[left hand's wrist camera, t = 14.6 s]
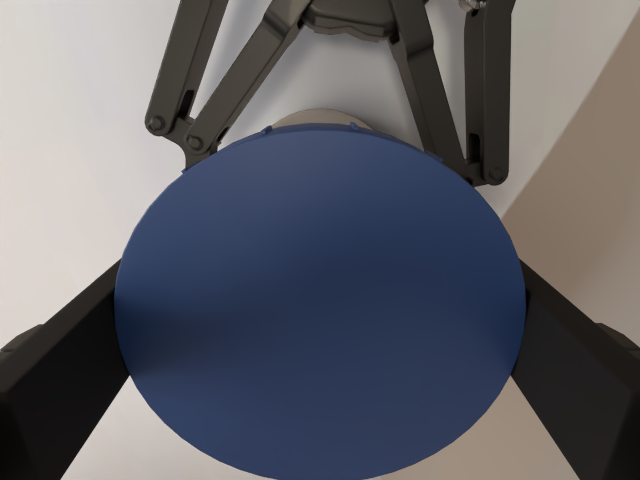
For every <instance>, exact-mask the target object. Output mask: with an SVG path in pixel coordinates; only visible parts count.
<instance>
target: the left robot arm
mask: <svg viewBox="0 0 640 480" xmlns="http://www.w3.org/2000/svg"><path fill="white" fill-rule="evenodd" d="M121 259H122V258H121ZM121 259H120V260H119V261H117V262H116V263H115V264H114V265H113V266H112V267H110V268H109V269H108V270H107V271H106V272H105V273H103V274H102V275H101V276H100V277H99V278H97V279H96V280H95V281H94V282H93V283H92V284H90V285H89V286H88V287H87V288H86V289H85V290H83V291H82V292H81V293H80V294H79V295H78V296H76V297H75V298H74V299H73V300H72V301H71V302H69V303H68V304H67V305H66V306H65V307H63V308H62V309H61V310H60V311H59V312H58V313H56V314H55V315H54V316H53V317H52V318H51V319H49V320H48V321H47V322H46V323H45V324H39V325H37V326H35V327H33V328H31V329H29V330H27V331H26V332H24V333H22V334H20V335H18V336H16V337H15V338H14V339H13V340H11V341H10V342H9V343H8V344H7V345H5V346H4V347H3V348H2V349H0V480H60V479H61V478H62V476H63V475H64V473H65V472H66V470H67V469H68V467H69V466H70V464H71V463H72V461H73V460H74V458H75V457H76V455H77V454H78V452H79V451H80V449H81V448H82V446H83V445H84V443H85V442H86V440H87V439H88V437H89V436H90V434H91V433H92V431H93V430H94V428H95V427H96V425H97V424H98V422H99V421H100V419H101V418H102V416H103V415H104V413H105V412H106V410H107V409H108V407H109V406H110V404H111V403H112V401H113V400H114V398H115V397H116V395H117V394H118V392H119V391H120V389H121V388H122V386H123V385H124V383H125V382H126V380H127V379H128V377H129V376H130V374H129V372H128V370H127V368H126V365H125V362H124V359H123V357H122V354H121V351H120V347H119V343H118V338H117V333H116V328H115V319H114V295H115V286H116V278H117V273H118V270H119V266H120V263H121ZM519 261H520V265H521V269H522V274H523V278H524V283H525V294H526V319H525V329H524V334H523V338H522V343H521V347H520V351H519V355H518V357H517V360H516V362H515V365H514V367H513V370H512V372H511V377H512V378H513V380H514V381H515V383H516V384H517V386H518V387H519V389H520V390H521V392H522V393H523V395H524V396H525V398H526V399H527V401H528V402H529V404H530V405H531V407H532V408H533V410H534V411H535V413H536V414H537V416H538V417H539V419H540V420H541V422H542V423H543V425H544V426H545V428H546V429H547V431H548V432H549V434H550V435H551V437H552V438H553V440H554V441H555V443H556V444H557V446H558V447H559V449H560V450H561V452H562V453H563V455H564V456H565V458H566V459H567V461H568V462H569V464H570V465H571V467H572V468H573V470H574V471H575V473H576V474H577V476H578V478H579V479H580V480H640V347H638V346H637V345H636V344H635V343H633V342H632V341H631V340H630V339H629V338H627V337H626V336H625V335H623V334H621V333H620V332H618V331H616V330H614V329H612V328H610V327H608V326H606V325H604V324H602V323H594V322H593V321H592V320H591V319H590V318H588V317H587V316H586V315H585V314H584V313H583V312H581V311H580V310H579V309H578V308H577V307H576V306H574V305H573V304H572V303H571V302H570V301H569V300H567V299H566V298H565V297H564V296H563V295H561V294H560V293H559V292H558V291H557V290H556V289H554V288H553V287H552V286H551V285H550V284H549V283H547V282H546V281H545V280H544V279H543V278H542V277H540V276H539V275H538V274H537V273H536V272H535V271H533V270H532V269H531V268H530V267H529V266H527V265H526V264H525V263H524V262H523V261H522V260H520V259H519Z"/></svg>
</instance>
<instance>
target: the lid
mask: <svg viewBox="0 0 640 480" xmlns="http://www.w3.org/2000/svg"><path fill="white" fill-rule="evenodd" d="M442 161H443V159H441V158H440V157H438V156H436V155H435V154H433V153H431V152H429V151H428V150H426V151H425V152H423V151H421V150H420V149H418V148H416V147H414V146H412V145H410V144H408V143H406V142H404V141H402V140H399V139H397V138H395V137H393V136H391V135H387V134H384V133H381V132H378V131H374V130H371V129H368V128H364V127H359V126H358V125H357V124H356V123H354V122H350V125H345V124H339V123H305V124H296V125H287V126H281V127H278V128H274V129H272V126H267V127H266V128H265V129H263V130H262V131H261V132H258V133H255V134H253V135H250V136H248V137H246V138H243V139H241V140H238V141H236V142H233V143H232V144H230V145H228V146H226V147H225V148H223V149H221V150H220V151H218V152H216V153H214V154H213V155H211V156H209V157H208V158H206V159H204V160H203V161H201V162H200V160H199V161H197V162H195V163H194V164H192V165H190V166H188V167H187V168H185V169H184V170H182V171H181V172H182V173H183V174H182V175H181V176H180V177H179V178H177V179H176V180H175V181H174V182H173V183H171V184H170V185H169V186H168V187H167V188H166V189H165V190H164V191H163V192H162V193H161V194H160V195H159V196H158V198H157V199H156V200H155V201H154V202H153V203H152V204H151V205H150V206H149V208H148V209H147V211H146V212H145V214H144V215H143V217H142V218H141V220H140V221H139V223H138V224H137V226H136V227H135V229H134V231H133V233H132V235H131V237H130V239H129V241H128V243H127V246H126V248H125V250H124V252H123V256H122V259H121V263H120V266H119V270H118V273H117V278H116V286H115V295H114V319H115V328H116V333H117V338H118V343H119V347H120V351H121V354H122V357H123V359H124V362H125V365H126V368H127V370H128V372H129V374H130V376H131V378H132V380H133V382H134V384H135V386H136V387H137V389H138V390H139V392H140V393H141V395H142V396H143V398H144V399H145V401H146V402H147V403H148V405H149V406H150V407H151V409H152V410H153V411H154V412H155V413H156V414H157V415H158V416H159V417H160V419H161V420H162V421H163V422H164V423H165V424H166V425H167V426H169V427H170V428H171V429H172V430H173V431H174V432H175V433H177V434H178V435H179V436H180V437H181V438H182V439H184V440H185V441H187V442H188V443H190V444H191V445H193V446H194V447H195V448H197V449H198V450H200V451H202V452H203V453H205V454H207V455H209V456H211V457H213V458H214V459H216V460H218V461H220V462H223V463H225V464H227V465H230V466H232V467H234V468H237V469H239V470H242V471H246V472H249V473H252V474H255V475H259V476H262V477H267V478H272V479H277V480H363V479H369V478H374V477H377V476H381V475H384V474H388V473H392V472H395V471H398V470H400V469H403V468H405V467H408V466H411V465H413V464H415V463H417V462H419V461H421V460H423V459H425V458H427V457H429V456H431V455H433V454H435V453H437V452H438V451H440V450H441V449H443V448H444V447H446V446H448V445H449V444H451V443H452V442H454V441H455V440H456V439H457V438H459V437H460V436H461V435H462V434H463V433H465V432H466V431H467V430H468V429H470V428H471V427H472V426H473V425H474V424H475V423H476V422H477V421H478V419H479V418H480V417H481V416H482V415H483V414H484V413H485V412H486V411H487V410H488V408H489V407H490V406H491V405H492V403H493V402H494V401H495V399H496V398H497V397H498V395H499V394H500V392H501V390H502V389H503V387H504V385H505V383H506V382H507V380H508V378H509V376H510V375H511V372H512V370H513V367H514V365H515V362H516V360H517V357H518V355H519V351H520V347H521V343H522V338H523V334H524V329H525V319H526V294H525V283H524V278H523V274H522V269H521V265H520V261H519V258H518V255H517V253H516V250H515V248H514V245H513V243H512V240H511V238H510V236H509V234H508V233H507V231H506V229H505V227H504V226H503V224H502V222H501V221H500V218H499V217H498V216H497V214H496V213H495V212H494V210H493V209H492V208H491V207H490V206H489V204H488V203H487V202H486V201H485V200H484V198H483V197H482V196H481V195H480V194H479V192H478V191H476V190H475V189H474V188H473V187H472V186H471V185H470V184H469V183H467V182H466V181H465V180H464V179H463V178H462V177H461V176H459V175H458V174H457V173H456V172H454V171H453V170H451V169H450V168H448V167H447V166H445V165H444V164H442V163H441V162H442Z"/></svg>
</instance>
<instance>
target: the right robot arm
mask: <svg viewBox="0 0 640 480" xmlns="http://www.w3.org/2000/svg"><path fill="white" fill-rule="evenodd" d="M228 1H229V0H181V1H180V4H179V8H178V11H177V14H176V17H175V21H174V24H173V27H172V31H171V34H170V37H169V40H168V44H167V47H166V50H165V54H164V57H163V60H162V63H161V67H160V70H159V73H158V77H157V80H156V83H155V86H154V90H153V93H152V96H151V100H150V103H149V106H148V109H147V113H146V116H145V126H146V128H147V130H148V131H149V132H150V133H151V134H153V135H155V136H163V137H165V138H166V139H168V140H170V141H172V142H174V143H176V144H177V145H179V146H180V147H181V148H182V150H183V151H184V153H185V157H186V168H187V167H188V166H190V165H192V164H194V163H195V162H197V161H199V160H200V162H201V161H203V160H204V159H206V158H208V157H209V156H211V155H213V154H214V153H216V152H217V149H218V146H219V145H220V144H221V140H222V139H223V138H224V136H225V135H226V133H227V132H228V130H229V129H230V128H231V126H232V125H233V123H234V122H235V121H236V119H237V118H238V116H239V115H240V114H241V112H242V111H243V109H244V108H245V106H246V105H247V104H248V102H249V101H250V99H251V98H252V97H253V95H254V94H255V92H256V91H257V90H258V88H259V87H260V85H261V84H262V83H263V81H264V80H265V78H266V77H267V75H268V74H269V73H270V71H271V70H272V68H273V67H274V66H275V64H276V63H277V61H278V60H279V59H280V57H281V56H282V54H283V53H284V52H285V50H286V49H287V47H288V46H289V45H290V44H291V43H292V42H293V41H294V39H295V38H296V37H297V35H298V34H299V32H300V31H301V30H302V28H303V27H304V25H305V24H306V25H307V26H308V27H310V28H311V29H313V30H314V32H316V33H322V34H328V35H333V34H340V33H348V34H350V35H352V36H355V37H357V38H359V39H361V40H364V41H370V42H376V43H377V42H379V41H380V40H385V39H387V40H388V43H389V46H390V49H391V52H392V55H393V58H394V60H395V61H396V63H397V65H398V68H399V72H400V75H401V78H402V81H403V84H404V87H405V91H406V94H407V97H408V100H409V103H410V106H411V110H412V113H413V116H414V119H415V122H416V125H417V129H418V132H419V135H420V138H421V141H422V144H423V148H424V151H426V150H428V151H429V152H431V153H433V154H435V155H436V156H438V157H440V158H441V159H443V161H442V162H441V163H442V164H444V165H445V166H447V167H448V168H450V169H451V170H453V171H454V172H456V173H457V174H458V175H459V176H461V177H462V178H463V179H464V180H465V181H466V182H467V183H469V184H470V185H471V186H472V187H473V188H474V187H476V186H481V185H486V184H490V185H495V186H496V185H499V184H501V183H503V182H504V181H505V180H506V178H507V177H508V172H509V120H510V61H511V13H512V10H513V7H514V4H515V1H516V0H458V2H459V5H460V7H461V9H462V10H464V11H466V12H467V14H466V19H465V27H464V61H465V108H466V155H467V158H466V159H464V157H463V153H462V150H461V146H460V143H459V139H458V136H457V132H456V129H455V125H454V121H453V118H452V114H451V111H450V107H449V104H448V100H447V97H446V93H445V90H444V86H443V82H442V79H441V75H440V72H439V68H438V65H437V61H436V58H435V54H434V50H433V44H434V41H433V35H432V31H431V27H430V24H429V20H428V17H427V13H426V10H425V6H424V5H425V4H426V3H427V2H428V1H429V0H273V1H272V2H271V4H270V5H269V7H268V8H267V10H266V12H265V14H264V16H263V19H262V21H261V23H260V24H259V26H258V27H257V29H256V30H255V32H254V33H253V35H252V36H251V38H250V39H249V41H248V42H247V44H246V45H245V47H244V48H243V50H242V51H241V53H240V54H239V56H238V57H237V59H236V60H235V61H234V63H233V64H232V66H231V67H230V69H229V70H228V72H227V73H226V75H225V76H224V78H223V79H222V81H221V82H220V84H219V85H218V87H217V88H216V90H215V91H214V93H213V94H212V96H211V97H210V99H209V100H208V102H207V103H206V105H205V106H204V107H203V109H202V110H201V112H200V113H199V115H198V116H197V118H196V119H193V118H191V117H189V115H190V112H191V109H192V106H193V103H194V100H195V97H196V94H197V91H198V89H199V86H200V83H201V80H202V77H203V74H204V71H205V68H206V65H207V62H208V59H209V56H210V53H211V51H212V48H213V45H214V42H215V39H216V36H217V33H218V30H219V27H220V24H221V21H222V18H223V15H224V13H225V10H226V7H227V4H228Z"/></svg>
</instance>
